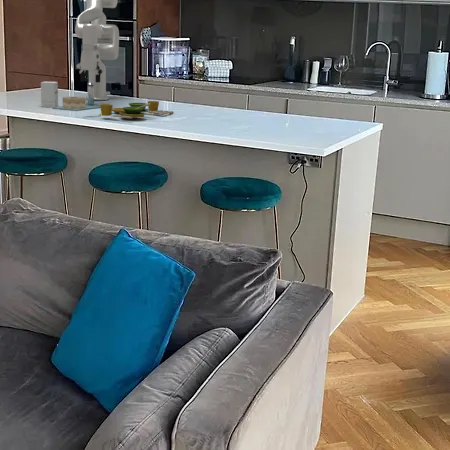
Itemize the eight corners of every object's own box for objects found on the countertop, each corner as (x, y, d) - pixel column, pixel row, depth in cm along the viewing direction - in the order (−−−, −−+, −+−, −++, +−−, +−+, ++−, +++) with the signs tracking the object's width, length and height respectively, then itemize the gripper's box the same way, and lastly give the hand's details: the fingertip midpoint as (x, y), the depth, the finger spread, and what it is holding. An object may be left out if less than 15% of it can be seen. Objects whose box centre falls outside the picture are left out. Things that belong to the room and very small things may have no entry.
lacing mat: (88, 104, 398) (88, 103, 398) (111, 106, 392) (111, 105, 392) (52, 108, 372) (52, 107, 372) (76, 110, 366) (76, 109, 366)
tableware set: (129, 119, 345) (129, 105, 343) (83, 114, 358) (83, 101, 356) (177, 112, 380) (177, 100, 378) (133, 108, 393) (134, 96, 391)
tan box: (72, 105, 383) (72, 96, 382) (89, 107, 378) (89, 97, 377) (58, 107, 373) (58, 97, 372) (75, 109, 369) (75, 99, 367)
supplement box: (55, 107, 378) (54, 82, 375) (40, 107, 378) (40, 82, 375) (58, 106, 385) (58, 81, 382) (44, 105, 385) (43, 81, 382)
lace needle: (90, 104, 390) (89, 82, 387) (95, 105, 389) (95, 82, 386) (86, 105, 387) (86, 82, 384) (91, 105, 386) (91, 82, 383)
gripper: (108, 49, 380) (108, 82, 384) (81, 48, 387) (81, 81, 391) (99, 48, 373) (99, 82, 377) (72, 47, 381) (72, 81, 385)
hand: (90, 81), depth 384 cm, fingers open, 9 cm apart
